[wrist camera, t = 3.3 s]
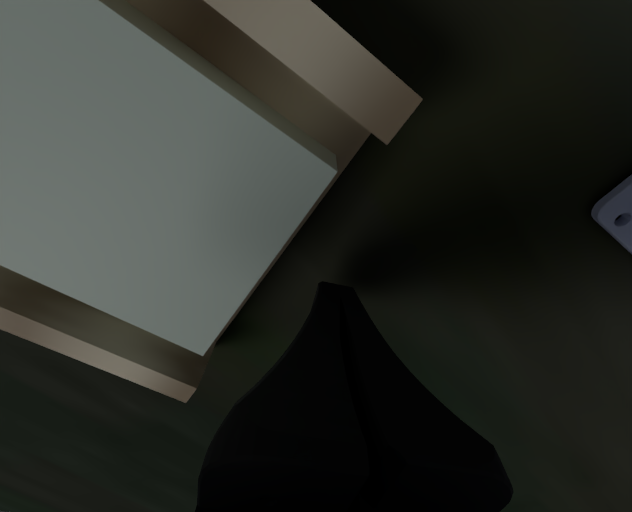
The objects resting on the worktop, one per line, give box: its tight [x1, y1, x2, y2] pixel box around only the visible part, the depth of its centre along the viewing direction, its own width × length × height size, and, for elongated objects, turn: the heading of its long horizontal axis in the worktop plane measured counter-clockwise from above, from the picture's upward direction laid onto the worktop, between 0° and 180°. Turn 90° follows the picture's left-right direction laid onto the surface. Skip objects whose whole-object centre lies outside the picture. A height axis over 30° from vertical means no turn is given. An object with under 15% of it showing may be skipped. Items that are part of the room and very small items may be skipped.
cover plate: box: [0, 0, 338, 356], centre depth 10 cm, size 9×9×2 cm
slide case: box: [0, 0, 423, 403], centre depth 9 cm, size 13×14×3 cm
